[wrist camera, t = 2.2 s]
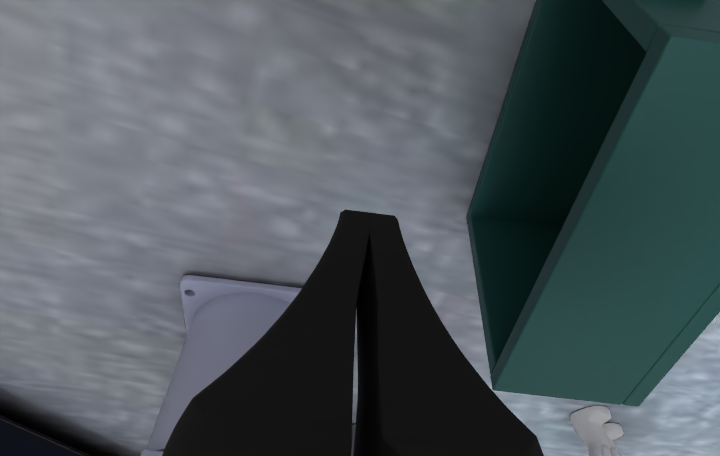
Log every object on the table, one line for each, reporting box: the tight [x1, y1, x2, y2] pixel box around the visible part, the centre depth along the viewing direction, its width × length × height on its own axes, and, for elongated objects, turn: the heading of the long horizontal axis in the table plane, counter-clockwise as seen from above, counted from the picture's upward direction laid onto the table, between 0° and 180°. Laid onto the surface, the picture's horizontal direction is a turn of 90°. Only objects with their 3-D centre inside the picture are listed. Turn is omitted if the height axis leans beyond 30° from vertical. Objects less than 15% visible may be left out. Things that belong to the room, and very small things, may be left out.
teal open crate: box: [467, 0, 720, 406], centre depth 17 cm, size 13×5×9 cm, turn 173°
